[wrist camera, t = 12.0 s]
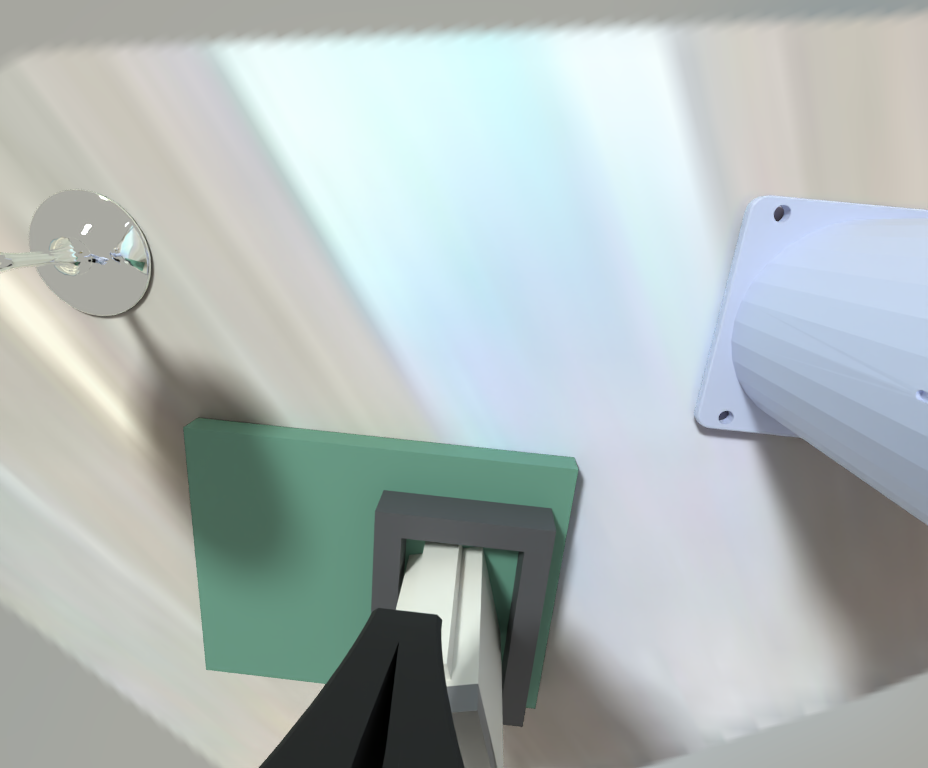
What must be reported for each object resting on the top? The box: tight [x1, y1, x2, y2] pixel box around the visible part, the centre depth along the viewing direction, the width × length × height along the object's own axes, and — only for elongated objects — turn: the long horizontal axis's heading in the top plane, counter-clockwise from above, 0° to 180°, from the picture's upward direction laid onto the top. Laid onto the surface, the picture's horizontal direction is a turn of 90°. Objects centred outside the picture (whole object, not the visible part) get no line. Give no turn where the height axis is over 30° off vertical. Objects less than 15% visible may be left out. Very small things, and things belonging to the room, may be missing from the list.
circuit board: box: [183, 418, 578, 727], centre depth 20 cm, size 15×12×2 cm
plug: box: [396, 541, 504, 768], centre depth 17 cm, size 5×3×7 cm, turn 10°
